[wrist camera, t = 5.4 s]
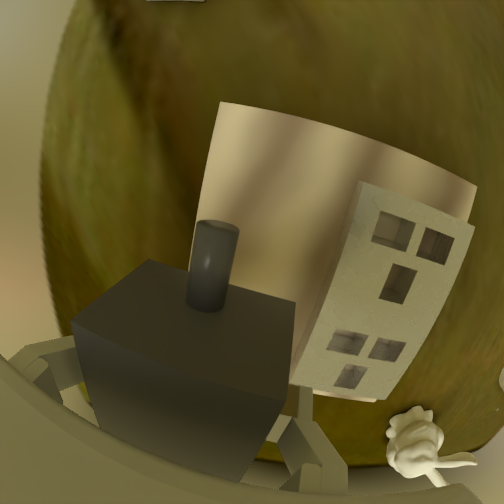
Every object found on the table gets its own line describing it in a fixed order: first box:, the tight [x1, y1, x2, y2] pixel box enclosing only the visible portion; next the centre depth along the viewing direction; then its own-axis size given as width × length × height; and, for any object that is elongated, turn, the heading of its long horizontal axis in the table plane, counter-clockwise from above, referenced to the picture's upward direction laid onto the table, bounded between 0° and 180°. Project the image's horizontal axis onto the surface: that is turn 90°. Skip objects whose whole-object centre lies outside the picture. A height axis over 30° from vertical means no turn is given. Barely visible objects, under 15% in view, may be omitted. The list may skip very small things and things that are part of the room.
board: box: [188, 102, 477, 402], centre depth 21 cm, size 20×22×2 cm
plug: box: [70, 220, 296, 482], centre depth 9 cm, size 6×9×6 cm, turn 167°
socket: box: [289, 179, 475, 400], centre depth 19 cm, size 9×16×2 cm, turn 167°
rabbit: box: [386, 406, 477, 487], centre depth 21 cm, size 12×9×12 cm
